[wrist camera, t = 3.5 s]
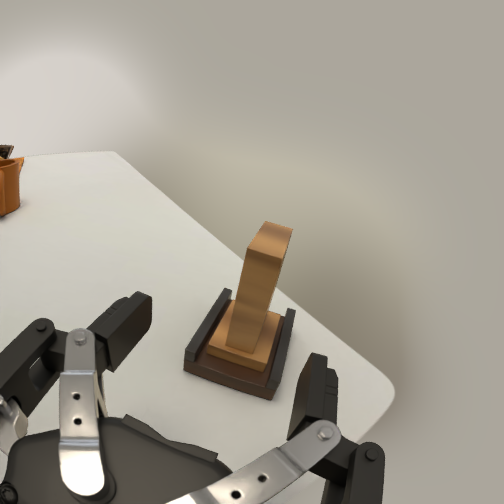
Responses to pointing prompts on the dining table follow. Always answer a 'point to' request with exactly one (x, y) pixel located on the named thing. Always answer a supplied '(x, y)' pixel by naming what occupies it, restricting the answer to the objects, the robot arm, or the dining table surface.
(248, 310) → the wooden pedestal block
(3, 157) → the food tray
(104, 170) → the dining table surface
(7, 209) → the mug
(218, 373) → the brown u-shaped block
